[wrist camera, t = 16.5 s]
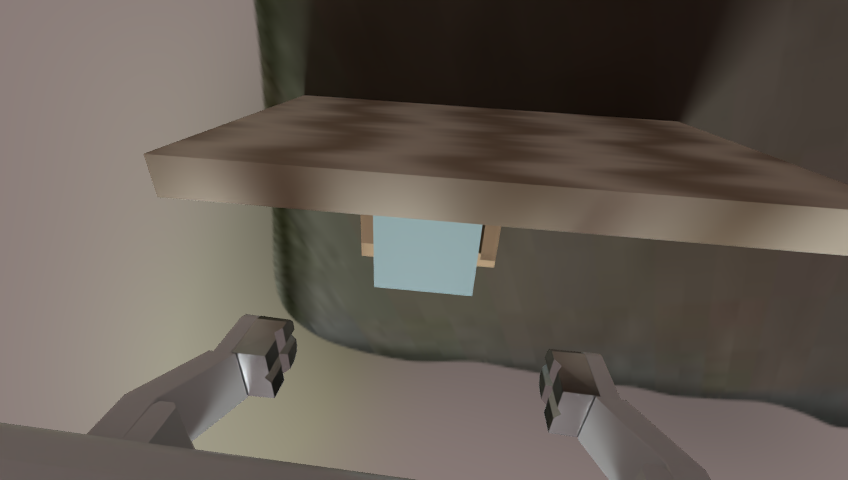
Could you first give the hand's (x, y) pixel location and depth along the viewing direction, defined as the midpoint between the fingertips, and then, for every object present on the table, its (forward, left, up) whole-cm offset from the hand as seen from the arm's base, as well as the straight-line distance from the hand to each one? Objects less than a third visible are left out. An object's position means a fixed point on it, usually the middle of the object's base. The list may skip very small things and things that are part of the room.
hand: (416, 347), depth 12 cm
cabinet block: (0, 0, -16) cm, 16 cm away
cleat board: (-3, 0, -16) cm, 17 cm away
